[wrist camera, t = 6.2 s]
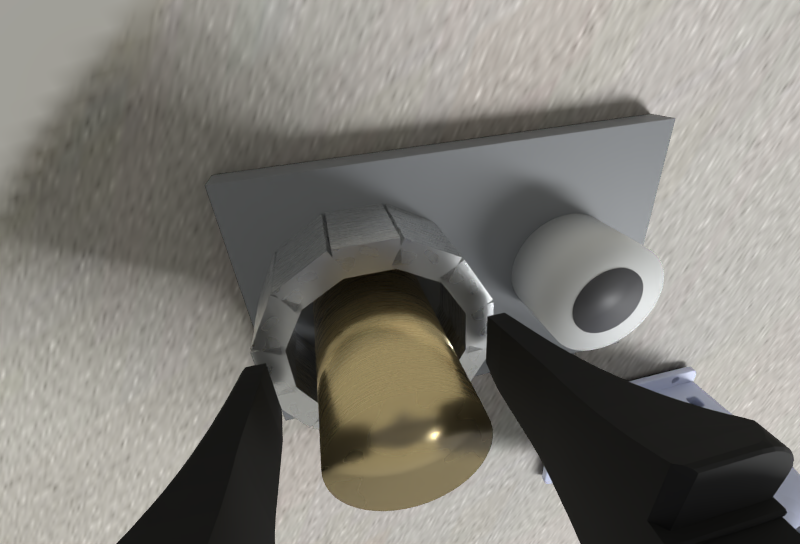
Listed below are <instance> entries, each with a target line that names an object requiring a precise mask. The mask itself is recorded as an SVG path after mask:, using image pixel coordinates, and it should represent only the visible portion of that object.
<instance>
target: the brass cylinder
mask: <svg viewBox="0 0 800 544" xmlns="http://www.w3.org/2000/svg"><path fill="white" fill-rule="evenodd" d="M313 314H314V334H315V354H316V373H317V393H318V412H319V432H320V452H321V471H322V477H323V481H324V483H325V485H326V487H327V488H328V490H329V491H330V492H331V493H332V494H333V495H334V496H335V497H336V498H337V499H339V500H340V501H342V502H344V503H346V504H348V505H350V506H353V507H356V508H360V509H364V510H372V511H392V510H400V509H407V508H411V507H415V506H418V505H422V504H425V503H428V502H430V501H433V500H435V499H437V498H439V497H441V496H444V495H445V494H447V493H449V492H451V491H452V490H454V489H455V488H457V487H458V486H460V485H461V484H462V483H464V482H465V481H466V480H467V479H469V478H470V477H471V476H472V475H473V474H474V473H475V472H476V470H477V469H478V468H479V467H480V466H481V464H482V463H483V461H484V460H485V458H486V456H487V454H488V452H489V450H490V447H491V444H492V438H493V429H492V425H491V421H490V419H489V417H488V415H487V413H486V411H485V409H484V407H483V405H482V403H481V401H480V399H479V397H478V396H477V394H476V392H475V390H474V388H473V386H472V384H471V382H470V380H469V378H468V376H467V374H466V372H465V370H464V368H463V367H462V365H461V363H460V361H459V359H458V357H457V355H456V353H455V351H454V349H453V347H452V345H451V343H450V341H449V340H448V338H447V336H446V334H445V332H444V330H443V328H442V326H441V324H440V322H439V320H438V318H437V316H436V314H435V312H434V311H433V309H432V307H431V305H430V303H429V301H428V299H427V297H426V295H425V293H424V291H423V289H422V287H421V285H420V284H419V282H418V280H417V278H416V276H415V275H414V274H412V273H409V272H406V271H402V270H399V269H392V270H387V271H382V272H376V273H371V274H365V275H360V276H355V277H349V278H344V279H342V280H341V281H340V282H338V283H337V284H336V285H334V286H333V287H332V288H330V289H329V290H328V291H326V292H325V293H324V294H322V295H321V296H320V297H318V298H317V299H316V300H314V302H313Z"/></svg>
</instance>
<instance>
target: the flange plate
mask: <svg viewBox="0 0 800 544" xmlns="http://www.w3.org/2000/svg"><path fill="white" fill-rule="evenodd" d="M674 122H675V118H671V117H666V116H660V115H654V114H647V115H640V116H633V117H626V118H619V119H611V120H604V121H597V122H590V123H583V124H576V125H568V126H561V127H554V128H547V129H540V130H533V131H525V132H518V133H511V134H504V135H497V136H490V137H482V138H475V139H468V140H461V141H454V142H447V143H439V144H432V145H425V146H418V147H411V148H404V149H396V150H389V151H382V152H375V153H368V154H361V155H353V156H346V157H339V158H332V159H325V160H318V161H310V162H303V163H296V164H289V165H282V166H275V167H267V168H260V169H253V170H246V171H239V172H232V173H224V174H217V175H212V176H211V177H210V179H209V180H208V182H207V183H206V184H205V188H206V190H207V193H208V196H209V199H210V202H211V205H212V208H213V211H214V214H215V217H216V220H217V222H218V225H219V228H220V231H221V234H222V237H223V240H224V243H225V246H226V249H227V252H228V254H229V257H230V260H231V263H232V266H233V269H234V272H235V275H236V278H237V281H238V284H239V286H240V289H241V292H242V295H243V298H244V301H245V304H246V307H247V310H248V313H249V316H250V318H251V321H252V324H253V327H254V326H255V319H256V313H257V307H258V301H259V296H260V293H261V290H262V287H263V285H264V282H265V279H266V276H267V273H268V270H269V267H270V265H271V262H272V259H273V256H274V253H275V251H276V252H277V248H278V247H280V246H281V245H282V244H284V243H285V242H286V241H287V240H289V239H290V238H291V237H293V236H294V235H295V234H296V233H298V232H299V231H300V230H301V229H303V228H304V227H305V226H307V225H308V224H309V223H310V222H312V221H313V220H314V219H316V218H317V217H318V216H319V215H321V214H322V215H323V216H324V218H325V219H326V216H325V212H331V211H337V210H343V209H350V208H356V207H362V206H368V205H375V204H381V203H382V205H383V207H384V206H385V204H387V205H390V206H393V207H395V208H398V209H401V210H403V211H406V212H408V213H411V214H414V215H416V216H419V217H422V218H424V219H427V220H430V221H432V222H434V223H435V224H437V226H438V227H439V228H440V230H441V231H442V232H443V233H444V235H445V236H446V237H447V238H448V240H449V241H450V242H451V243H452V245H453V246H454V247H455V248H456V250H457V251H458V252H459V253H460V255H461V256H462V257H463V258H464V260H465V261H466V263H467V264H468V265H469V267H470V268H471V270H472V271H473V272H474V274H475V275H476V277H477V278H478V279H479V281H480V282H481V284H482V285H483V286H484V288H485V289H486V291H487V292H488V293H489V295H490V296H491V298H492V299H493V300H492V301H493V302H494V309H493V315H496V314H500V313H506V314H508V315H509V316H511V317H513V318H514V319H516V320H517V321H519V322H520V323H522V324H523V325H525V326H527V327H528V328H530V329H531V330H533V331H534V332H536V333H538V334H539V335H541V336H542V337H544V338H546V339H547V340H549V341H550V342H552V343H554V344H555V345H557V346H559V347H560V348H562V349H564V350H566V351H567V352H569V353H571V354H572V353H576V352H580V351H586V350H594V349H599V348H602V347H605V346H608V345H610V344H614V343H619V340H620V339H622V338H623V337H625V336H626V335H628V334H629V333H630V332H632V331H633V330H634V329H635V328H636V327H638V326H639V325H640V324H641V323H642V322H643V321H644V319H645V318H646V317H647V316H648V315H649V313H650V312H651V311H652V309H653V308H654V306H655V304H656V302H657V300H658V298H659V296H660V294H661V291H662V287H663V283H664V269H663V265H662V262H661V260H660V258H659V257H658V256H657V254H655V253H654V252H653V251H652V250H650V249H649V248H647V247H645V246H643V244H644V240H645V236H646V232H647V228H648V224H649V221H650V217H651V213H652V209H653V205H654V201H655V197H656V193H657V189H658V185H659V181H660V177H661V173H662V169H663V165H664V161H665V157H666V153H667V150H668V146H669V142H670V138H671V134H672V130H673V126H674ZM414 275H415V274H414ZM415 276H416V278H417V280H418V282H419V284H420V285H421V287H422V289H423V291H424V293H425V295H426V297H427V299H428V301H429V303H430V305H431V307H432V309H433V311H434V312H436V310H437V308H438V307H439V305H440V288H439V282H438V281H434V280H431V279H428V278H425V277H422V276H418V275H415ZM313 302H314V301H313ZM313 302H312V303H310V304H309V305H308V306H306V307H305V308H304V309H302V310H301V313H300V315H299V318H298V320H297V323H296V325H295V329H296V333H297V334H299V335H300V336H301V337H302V338H303V339H305V340H306V341H307V342H308V343H309V344H311V345H312V346H313V347H314V348H315V334H314V314H313ZM486 373H490V371H489V368H488V366H487V364H486V359H485V360H484V362H483V364H482V365H481V367H480V368H479V370H478V371H477V373H476V374H475V376H478V375H482V374H486ZM282 412H283V414H284V417H285V420H290V419H294V417H293V416H291V415H290V414H288V413H287V412H285V411H284V410H282Z"/></svg>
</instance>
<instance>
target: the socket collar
mask: <svg viewBox="0 0 800 544" xmlns="http://www.w3.org/2000/svg"><path fill="white" fill-rule="evenodd" d="M325 216H326V219H325V218H324V216H323V215H322V214H321V215H319V216H318V217H317V218H316V219H314V220H313V221H312V222H310V223H309V224H308V225H307V226H305V227H304V228H303V229H301V230H300V231H299V232H298V233H296V234H295V235H294V236H293V237H291V238H290V239H289V240H287V241H286V242H285V243H284V244H282V245H281V246H280V247H278V248H277V252H276V251H275V253H274V256H273V259H272V262H271V265H270V267H269V270H268V273H267V276H266V279H265V282H264V285H263V287H262V290H261V293H260V296H259V301H258V307H257V313H256V319H255V326H254V332H253V338H252V344H251V355H252V358H253V361H254V363H255V365H259V364H264V363H266V365H267V368H268V371H269V374H270V377H271V380H272V382H273V385H274V388H275V391H276V394H277V397H278V400H279V403H280V406H281V409H282V410H284V411H285V412H287V413H288V414H290V415H291V416H293V417H294V418H296V419H297V420H299V421H300V422H302V423H303V424H305V425H306V426H308V427H309V428H310V427H311V426H313V429H318V430H319V412H318V393H317V373H316V354H315V348H314V347H313V346H312V345H311V344H309V343H308V342H307V341H306V340H305V339H303V338H302V337H301V336H300V335H299V334H297V333H296V329H295V325H296V323H297V320H298V318H299V315H300V313H301V310H302V309H304V308H305V307H306V306H308V305H309V304H310V303H312V302H313V301H314V300H316V299H317V298H318V297H320V296H321V295H322V294H324V293H325V292H326V291H328V290H329V289H330V288H332V287H333V286H334V285H336V284H337V283H338V282H340V281H341V280H342V279H344V278H349V277H355V276H360V275H365V274H371V273H376V272H382V271H387V270H392V269H399V270H402V271H406V272H409V273H412V274H415V275H418V276H422V277H425V278H428V279H431V280H434V281H438V282H439V288H440V305H439V307H438V308H437V310H436V312H435V314H436V316H437V318H438V320H439V322H440V324H441V326H442V328H443V330H444V332H445V334H446V336H447V338H448V340H449V341H450V343H451V345H452V347H453V349H454V351H455V353H456V355H457V357H458V359H459V361H460V363H461V365H462V367H463V368H464V370H465V372H466V374H467V376H468V378H469V380H470V382H471V380H472V379H473V377H474V376H475V374H476V373H477V371H478V370H479V368H480V367H481V365H482V364H483V362H484V360H485V359H486V343H487V316H491V315H493V309H494V302H493V301H492V300H493V299H492V298H491V296H490V295H489V293H488V292H487V291H486V289H485V288H484V286H483V285H482V284H481V282H480V281H479V279H478V278H477V277H476V275H475V274H474V272H473V271H472V270H471V268H470V267H469V265H468V264H467V263H466V261H465V260H464V258H463V257H462V256H461V255H460V253H459V252H458V251H457V250H456V248H455V247H454V246H453V245H452V243H451V242H450V241H449V240H448V238H447V237H446V236H445V235H444V233H443V232H442V231H441V230H440V228H439V227H438V226H437V224H435V223H434V222H432V221H430V220H427V219H424V218H422V217H419V216H416V215H414V214H411V213H408V212H406V211H403V210H401V209H398V208H395V207H393V206H390V205H387V204H385V206H384V207H383V205H382V203H381V204H375V205H368V206H362V207H356V208H350V209H343V210H337V211H331V212H325Z"/></svg>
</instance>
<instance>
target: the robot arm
mask: <svg viewBox="0 0 800 544" xmlns="http://www.w3.org/2000/svg"><path fill="white" fill-rule="evenodd" d="M486 364H487V366H488V368H489V371H490V373H491V375H492V377H493V380H494V382H495V384H496V386H497V388H498V390H499V392H500V393H501V395H502V397H503V398H504V400H505V401H506V403H507V405H508V406H509V408H510V410H511V411H512V413H513V414H514V416H515V418H516V419H517V421H518V422H519V424H520V426H521V427H522V429H523V430H524V432H525V434H526V435H527V437H528V438H529V440H530V442H531V443H532V445H533V446H534V448H535V450H536V452H537V453H538V455H539V457H540V459H541V461H542V463H543V465H544V468H543V474H542V479H543V480H544V482H545V483H547V484H551V483H553V485H554V487H555V489H556V491H557V493H558V495H559V497H560V499H561V502H562V504H563V506H564V508H565V510H566V512H567V514H568V516H569V519H570V521H571V523H572V525H573V528H574V530H575V532H576V534H577V537H578V539H579V541H580V543H581V544H800V475H799V473H798V472H797V471H796V470H795V469H794V468H793V461H794V458H793V454H792V452H791V450H790V449H789V448H788V447H786V446H785V445H784V444H783V443H781V442H780V441H779V440H778V439H777V438H775V437H774V436H773V435H772V434H770V433H769V432H768V431H767V430H765V429H764V428H763V427H762V426H761V425H759V424H758V423H757V422H755V421H754V420H750V419H746V418H742V417H738V416H734V415H732V414H731V413H730V412H729V411H728V410H726V409H725V408H724V407H723V406H722V405H720V404H719V403H718V402H717V401H716V400H714V399H713V398H712V397H711V396H710V395H708V394H707V393H706V392H705V391H704V390H702V389H701V388H700V387H699V386H698V385H697V384H695V383H694V382H693V381H694V378H695V376H696V371H695V370H694V369H693V368H692V367H684V368H680V369H676V370H672V371H668V372H664V373H660V374H656V375H652V376H648V377H644V378H640V379H636V380H632V381H626V380H624V379H622V378H619V377H617V376H615V375H613V374H611V373H608V372H606V371H604V370H602V369H600V368H598V367H596V366H594V365H592V364H590V363H588V362H586V361H584V360H582V359H580V358H578V357H577V356H575V355H573V354H571V353H569V352H567V351H566V350H564V349H562V348H560V347H559V346H557V345H555V344H554V343H552V342H550V341H549V340H547V339H546V338H544V337H542V336H541V335H539V334H538V333H536V332H534V331H533V330H531V329H530V328H528V327H527V326H525V325H523V324H522V323H520V322H519V321H517V320H516V319H514V318H513V317H511V316H509V315H508V314H506V313H500V314H496V315H491V316H487V343H486ZM282 442H283V436H282V409H281V406H280V403H279V400H278V397H277V394H276V391H275V388H274V385H273V382H272V380H271V377H270V374H269V371H268V368H267V365H266V363H264V364H259V365H254V366H250V367H245V369H244V370H243V371H242V373H241V375H240V377H239V379H238V380H237V382H236V384H235V386H234V388H233V389H232V391H231V393H230V395H229V396H228V398H227V400H226V402H225V403H224V405H223V407H222V408H221V410H220V412H219V413H218V415H217V417H216V418H215V420H214V422H213V423H212V425H211V426H210V428H209V430H208V431H207V433H206V434H205V436H204V437H203V438H202V440H201V441H200V443H199V444H198V446H197V447H196V449H195V450H194V452H193V453H192V455H191V456H190V457H189V459H188V460H187V462H186V463H185V464H184V466H183V467H182V468H181V470H180V471H179V472H178V474H177V475H176V476H175V478H174V479H173V480H172V481H171V483H170V484H169V485H168V486H167V488H166V489H165V490H164V491H163V493H162V494H161V495H160V496H159V497H158V498H157V500H156V501H155V502H154V503H153V504H152V505H151V507H150V508H149V509H148V510H147V511H146V512H145V513H144V514H143V516H142V517H141V518H140V519H139V520H138V521H137V522H136V523H135V525H134V526H133V527H132V528H131V529H130V530H129V531H128V532H127V533H126V534H125V535H124V536H123V537H122V538H121V539H120V540H119V541H118V543H117V544H275V519H276V507H277V496H278V486H279V475H280V465H281V454H282Z"/></svg>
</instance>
